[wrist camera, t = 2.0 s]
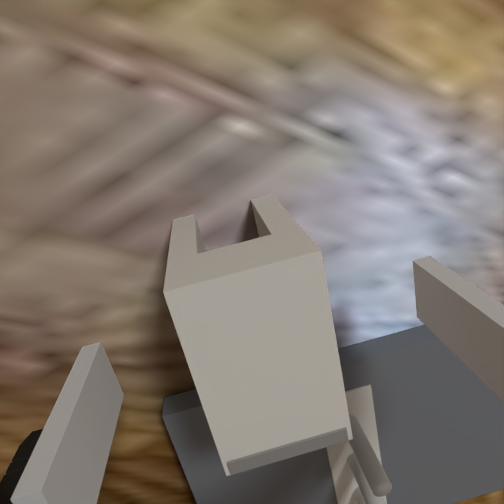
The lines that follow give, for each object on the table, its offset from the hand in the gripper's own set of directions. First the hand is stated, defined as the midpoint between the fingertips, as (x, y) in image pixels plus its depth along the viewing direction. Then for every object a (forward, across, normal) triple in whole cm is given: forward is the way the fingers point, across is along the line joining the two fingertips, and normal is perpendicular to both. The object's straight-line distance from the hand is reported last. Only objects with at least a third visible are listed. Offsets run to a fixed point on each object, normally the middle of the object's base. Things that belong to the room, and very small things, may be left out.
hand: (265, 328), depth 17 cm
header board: (+5, +4, -13) cm, 14 cm away
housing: (+5, 0, 0) cm, 5 cm away
